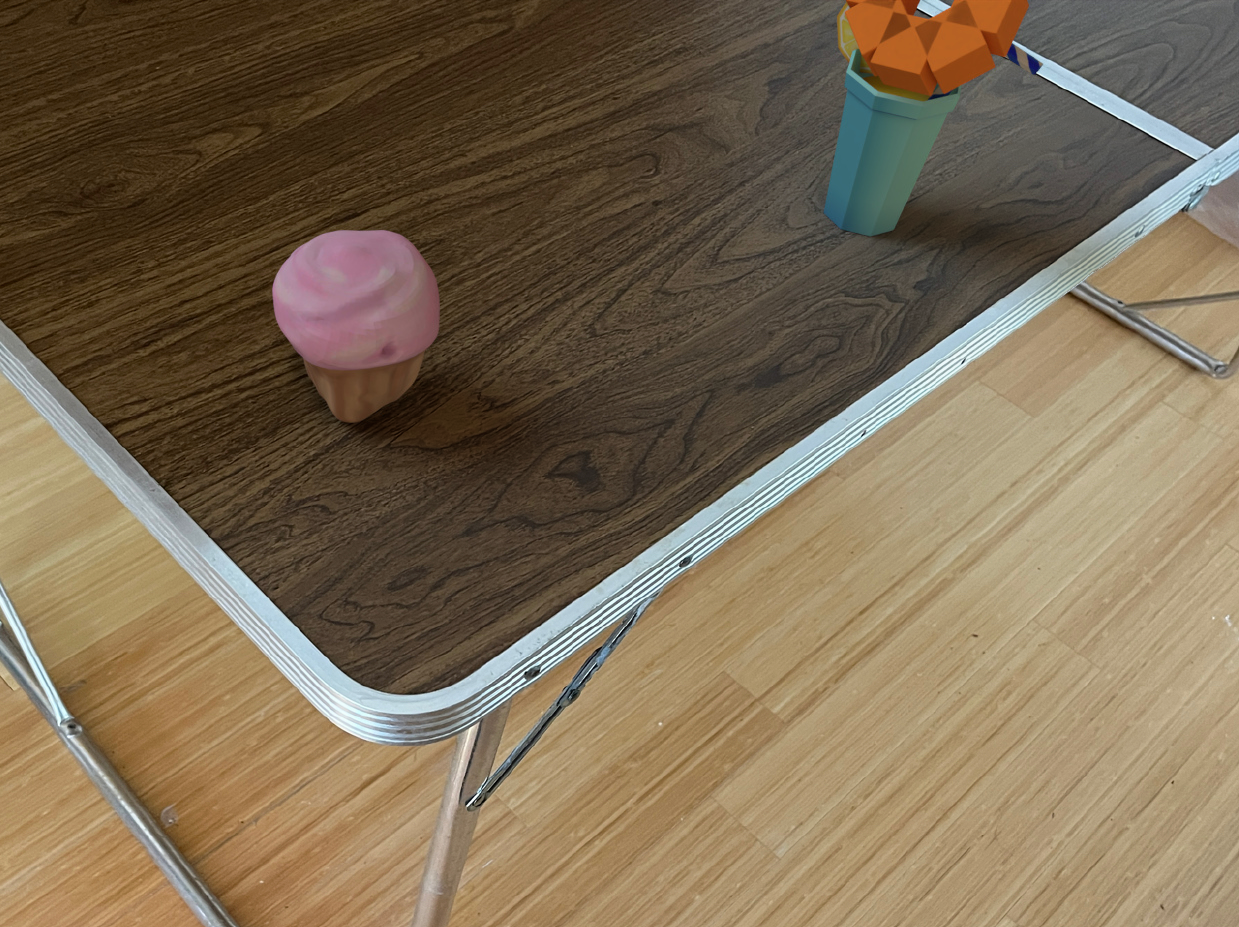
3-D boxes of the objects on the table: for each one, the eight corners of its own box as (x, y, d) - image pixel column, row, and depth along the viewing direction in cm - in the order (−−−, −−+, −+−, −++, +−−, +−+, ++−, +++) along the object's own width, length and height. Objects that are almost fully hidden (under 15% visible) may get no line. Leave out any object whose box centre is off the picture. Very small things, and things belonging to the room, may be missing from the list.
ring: (1053, -47, 73) (1046, -76, 70) (981, 109, 74) (971, 87, 71) (902, -75, 77) (890, -103, 74) (836, 72, 78) (821, 50, 75)
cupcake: (257, 369, 71) (240, 223, 64) (392, 324, 75) (390, 181, 68) (327, 468, 67) (318, 323, 59) (467, 415, 70) (474, 272, 63)
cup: (986, 239, 86) (1073, 32, 75) (934, 288, 82) (1018, 77, 71) (815, 156, 91) (872, -49, 80) (757, 199, 87) (809, -12, 76)
